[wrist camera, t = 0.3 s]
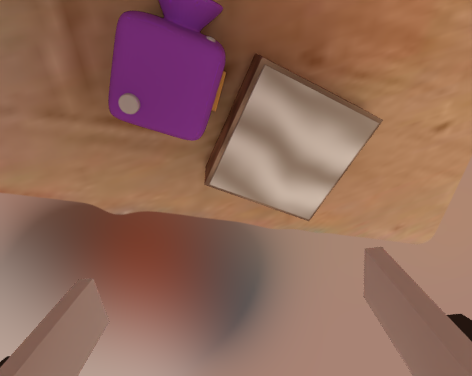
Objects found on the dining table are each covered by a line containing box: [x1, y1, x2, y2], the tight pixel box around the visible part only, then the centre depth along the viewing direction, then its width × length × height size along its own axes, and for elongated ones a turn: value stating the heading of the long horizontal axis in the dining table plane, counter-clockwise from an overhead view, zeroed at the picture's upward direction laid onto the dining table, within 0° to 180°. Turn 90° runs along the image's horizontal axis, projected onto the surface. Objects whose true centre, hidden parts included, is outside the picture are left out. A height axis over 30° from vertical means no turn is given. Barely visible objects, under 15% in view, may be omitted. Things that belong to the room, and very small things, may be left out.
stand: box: [205, 54, 383, 221], centre depth 34 cm, size 16×16×5 cm
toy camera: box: [109, 0, 226, 140], centre depth 26 cm, size 11×14×10 cm
